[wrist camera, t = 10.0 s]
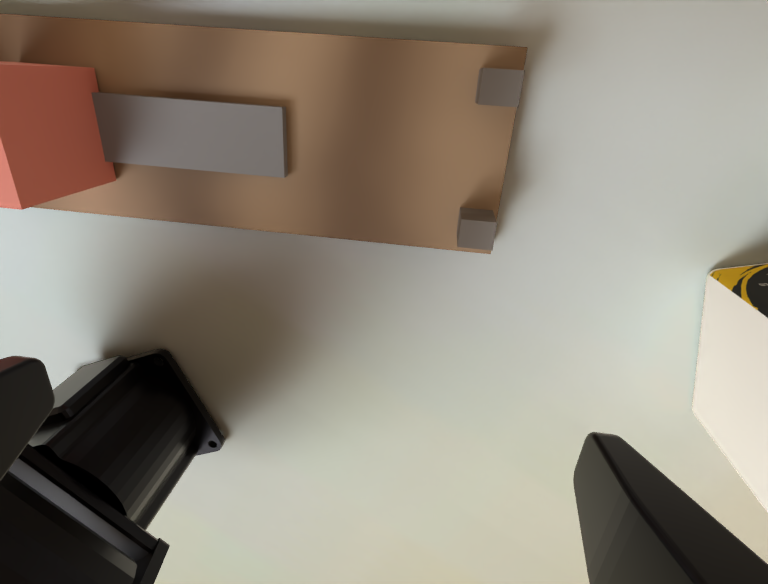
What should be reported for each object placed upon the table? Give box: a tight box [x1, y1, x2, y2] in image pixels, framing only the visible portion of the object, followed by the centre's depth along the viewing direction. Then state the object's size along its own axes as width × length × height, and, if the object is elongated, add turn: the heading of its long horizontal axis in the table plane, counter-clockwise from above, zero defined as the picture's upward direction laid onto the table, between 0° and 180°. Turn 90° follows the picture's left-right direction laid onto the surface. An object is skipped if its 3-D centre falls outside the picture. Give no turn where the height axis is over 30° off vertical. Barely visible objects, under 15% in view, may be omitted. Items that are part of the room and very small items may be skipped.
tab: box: [0, 61, 288, 209], centre depth 15 cm, size 10×4×4 cm, turn 86°
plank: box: [0, 14, 527, 254], centre depth 16 cm, size 22×7×4 cm, turn 86°
